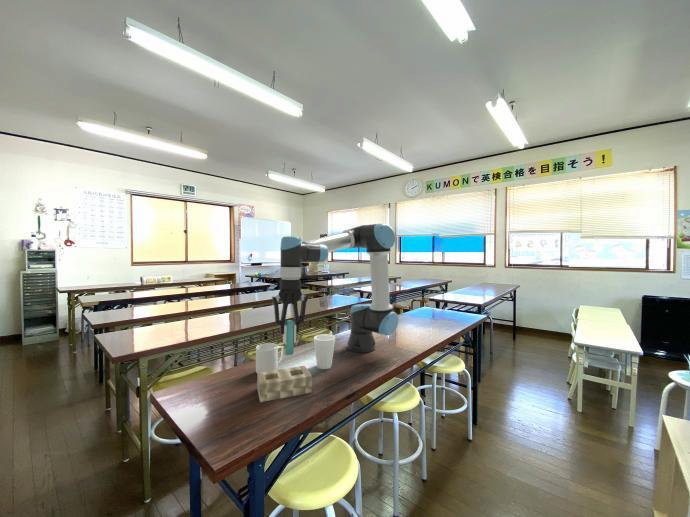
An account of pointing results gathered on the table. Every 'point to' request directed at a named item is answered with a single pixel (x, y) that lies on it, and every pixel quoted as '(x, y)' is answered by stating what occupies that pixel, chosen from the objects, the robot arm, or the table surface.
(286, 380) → the hole block
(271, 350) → the mug
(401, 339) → the table surface
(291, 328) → the peg
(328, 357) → the foam cup
